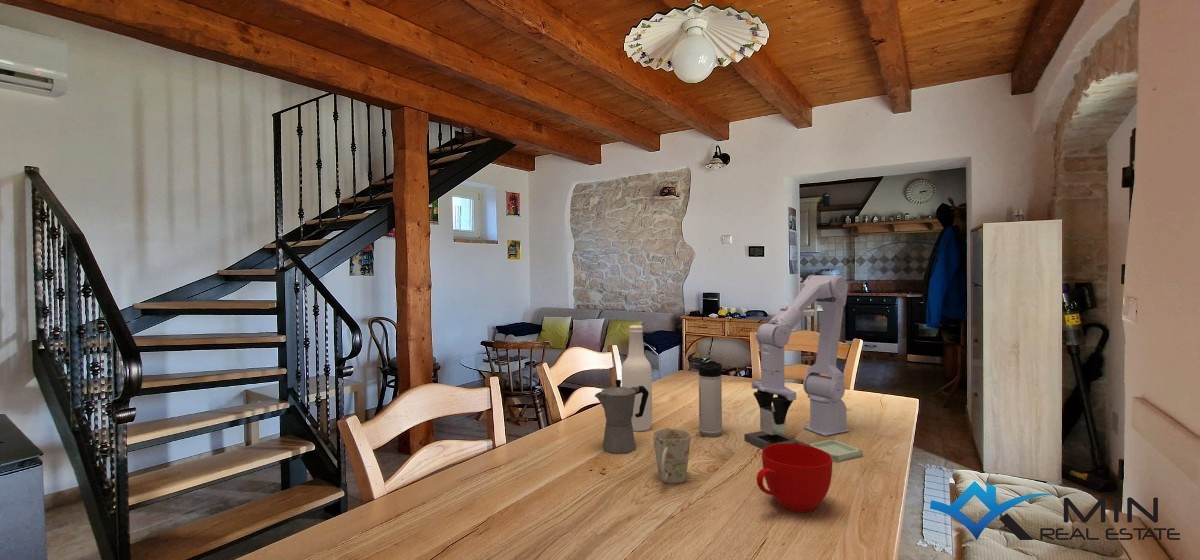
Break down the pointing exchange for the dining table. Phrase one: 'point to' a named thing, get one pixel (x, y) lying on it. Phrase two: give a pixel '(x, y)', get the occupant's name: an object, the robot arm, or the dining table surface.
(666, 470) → the mug
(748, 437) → the dark grey flat frame
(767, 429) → the grey rectangular block
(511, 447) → the dining table surface
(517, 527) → the dining table surface
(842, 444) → the tray
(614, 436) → the coffeepot
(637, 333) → the alcohol
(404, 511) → the dining table surface
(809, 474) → the ceramic cup
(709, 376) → the travel mug
